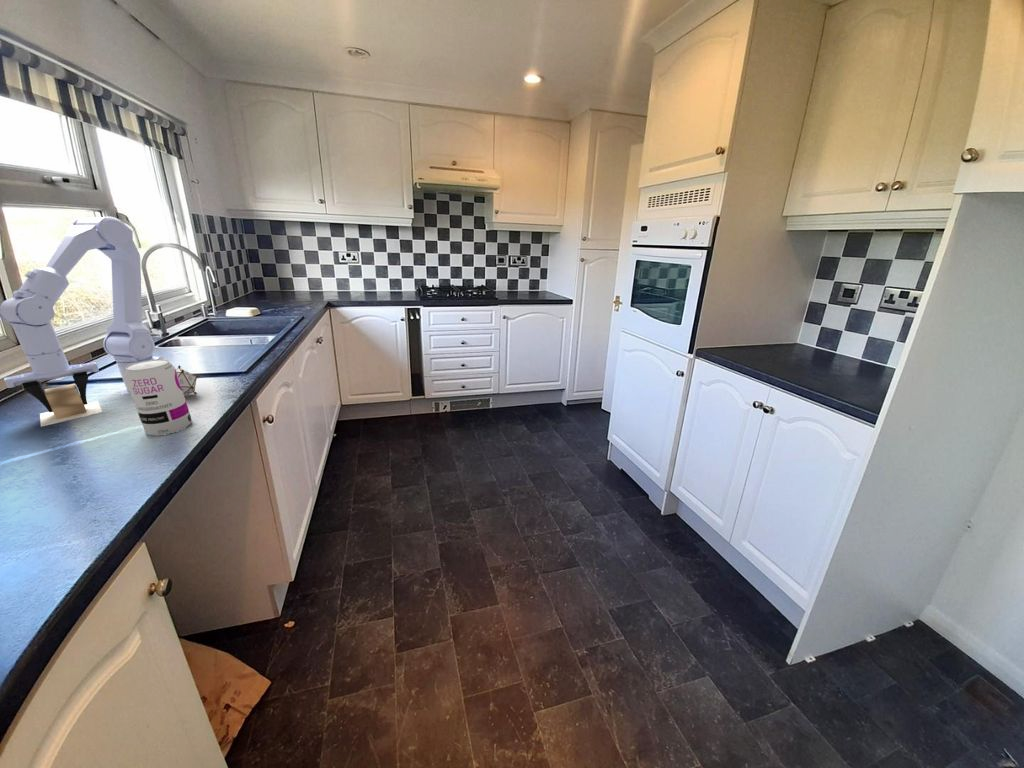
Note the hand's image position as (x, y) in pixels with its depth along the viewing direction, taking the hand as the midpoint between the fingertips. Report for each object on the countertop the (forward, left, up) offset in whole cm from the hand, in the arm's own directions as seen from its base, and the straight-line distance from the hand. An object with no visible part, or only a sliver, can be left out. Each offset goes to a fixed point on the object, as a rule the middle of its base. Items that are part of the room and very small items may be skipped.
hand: (68, 407), depth 97 cm
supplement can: (-25, +16, -2) cm, 30 cm away
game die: (-21, -4, -2) cm, 22 cm away
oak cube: (0, 0, -1) cm, 1 cm away
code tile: (0, 0, -2) cm, 2 cm away
